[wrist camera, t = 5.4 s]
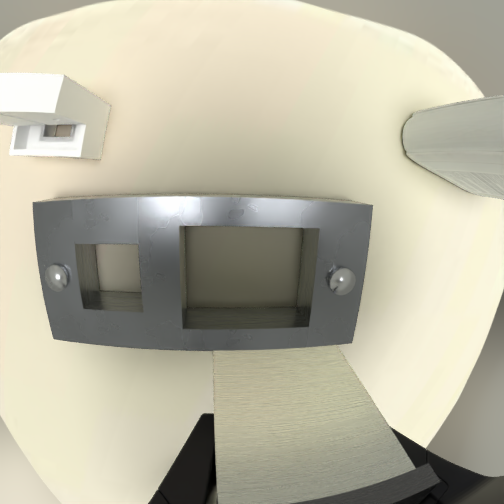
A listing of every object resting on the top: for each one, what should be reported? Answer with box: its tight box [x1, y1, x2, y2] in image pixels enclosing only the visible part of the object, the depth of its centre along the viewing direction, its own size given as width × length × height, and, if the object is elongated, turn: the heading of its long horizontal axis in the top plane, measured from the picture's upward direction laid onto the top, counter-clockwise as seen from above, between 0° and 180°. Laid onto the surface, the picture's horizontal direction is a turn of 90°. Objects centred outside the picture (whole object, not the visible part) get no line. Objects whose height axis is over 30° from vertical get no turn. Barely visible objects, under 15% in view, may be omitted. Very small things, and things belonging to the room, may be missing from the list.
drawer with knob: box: [213, 345, 441, 504], centre depth 6 cm, size 4×4×6 cm
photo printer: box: [403, 95, 504, 200], centre depth 13 cm, size 10×4×12 cm, turn 76°
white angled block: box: [0, 73, 111, 160], centre depth 12 cm, size 4×10×9 cm, turn 80°
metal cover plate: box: [33, 194, 373, 351], centre depth 17 cm, size 9×20×3 cm, turn 88°
